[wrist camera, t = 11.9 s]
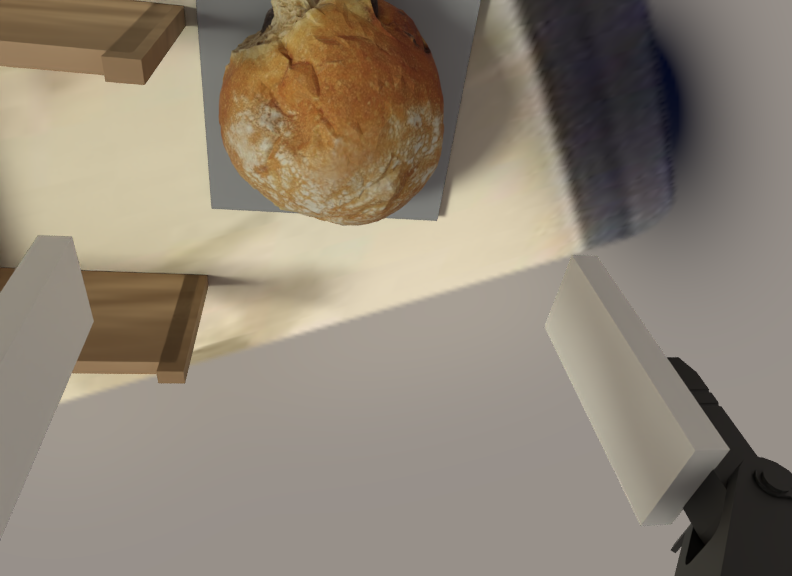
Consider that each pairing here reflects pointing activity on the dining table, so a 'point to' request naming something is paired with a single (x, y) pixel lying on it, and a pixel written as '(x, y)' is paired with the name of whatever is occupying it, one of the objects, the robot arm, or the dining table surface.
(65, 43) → the box
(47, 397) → the robot arm
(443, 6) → the slate board
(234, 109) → the bread roll
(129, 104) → the dining table surface
